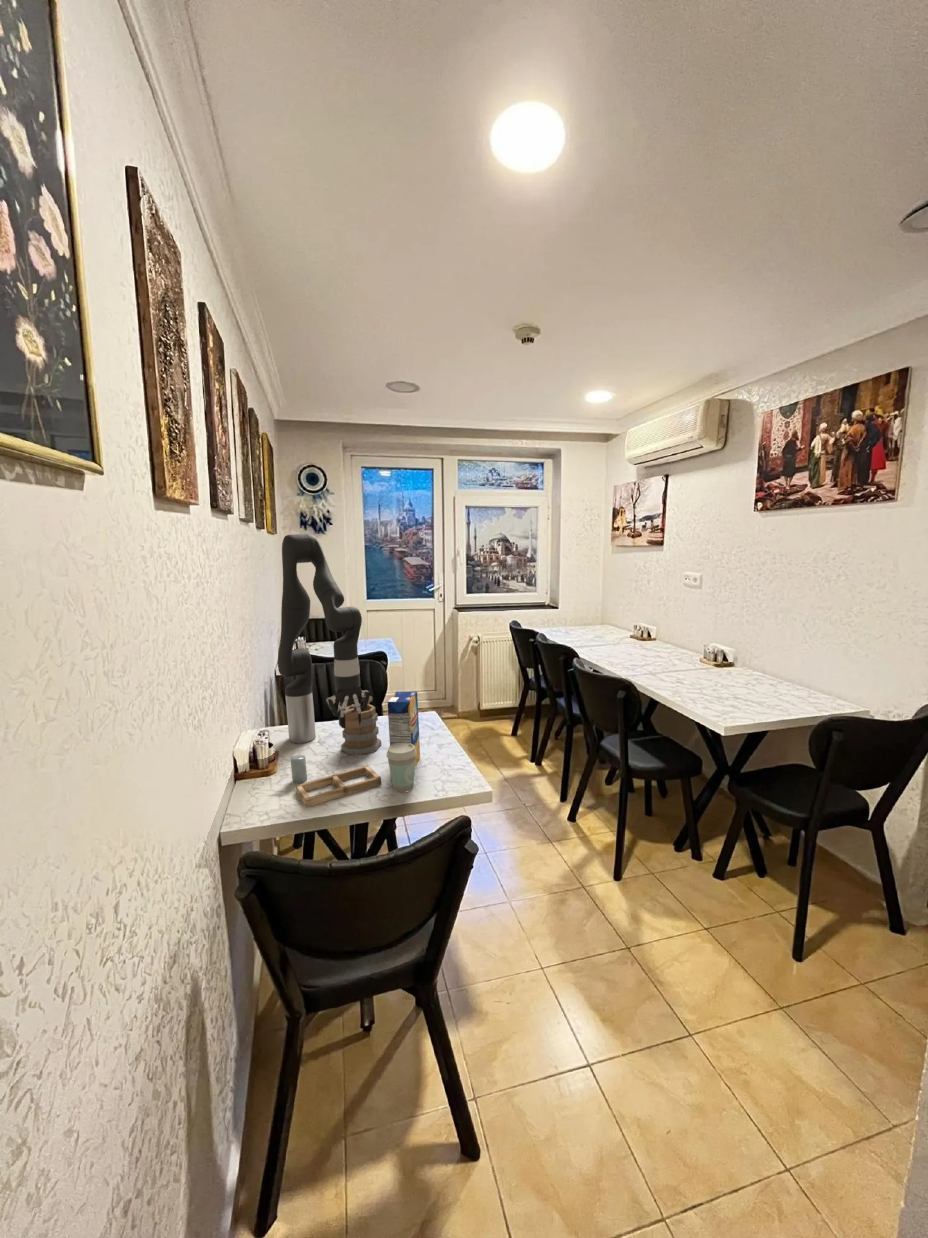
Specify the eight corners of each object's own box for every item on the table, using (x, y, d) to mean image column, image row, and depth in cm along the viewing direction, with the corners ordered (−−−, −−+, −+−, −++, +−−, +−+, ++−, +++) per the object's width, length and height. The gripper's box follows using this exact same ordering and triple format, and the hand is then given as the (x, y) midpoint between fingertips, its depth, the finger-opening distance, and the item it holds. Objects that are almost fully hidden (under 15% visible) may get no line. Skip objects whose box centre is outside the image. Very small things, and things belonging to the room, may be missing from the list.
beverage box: (391, 770, 152) (387, 702, 149) (399, 755, 163) (396, 691, 160) (413, 771, 151) (409, 702, 148) (420, 756, 162) (417, 691, 159)
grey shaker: (290, 779, 148) (288, 757, 147) (304, 775, 150) (303, 754, 150) (294, 785, 145) (292, 762, 144) (308, 780, 147) (307, 758, 146)
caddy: (296, 792, 140) (295, 785, 140) (367, 771, 152) (367, 765, 152) (307, 807, 132) (306, 800, 132) (381, 784, 144) (381, 777, 143)
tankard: (372, 755, 164) (370, 712, 162) (336, 754, 166) (333, 711, 164) (391, 733, 183) (388, 694, 181) (358, 732, 185) (356, 693, 183)
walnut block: (341, 726, 153) (341, 711, 153) (354, 723, 156) (353, 708, 155) (346, 730, 150) (345, 714, 149) (358, 727, 152) (358, 711, 151)
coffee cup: (405, 797, 135) (403, 756, 134) (382, 790, 140) (379, 750, 138) (424, 784, 142) (422, 745, 141) (401, 778, 147) (399, 739, 145)
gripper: (364, 666, 157) (367, 717, 160) (320, 673, 149) (323, 727, 152) (373, 671, 151) (376, 724, 154) (328, 679, 143) (331, 735, 146)
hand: (350, 725), depth 153 cm, fingers closed on walnut block, 4 cm apart
